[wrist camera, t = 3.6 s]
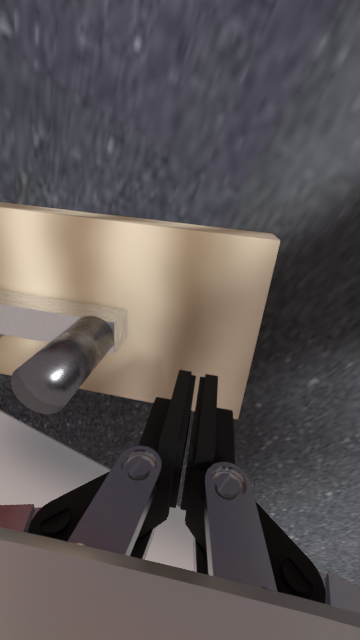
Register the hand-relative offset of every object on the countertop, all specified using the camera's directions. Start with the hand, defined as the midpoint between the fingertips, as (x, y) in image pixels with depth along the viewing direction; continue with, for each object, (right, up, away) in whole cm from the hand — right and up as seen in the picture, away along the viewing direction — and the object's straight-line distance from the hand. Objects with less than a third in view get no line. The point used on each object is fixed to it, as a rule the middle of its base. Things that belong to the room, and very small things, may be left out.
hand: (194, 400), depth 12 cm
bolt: (-10, +4, +6) cm, 13 cm away
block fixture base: (-10, +6, +9) cm, 15 cm away
